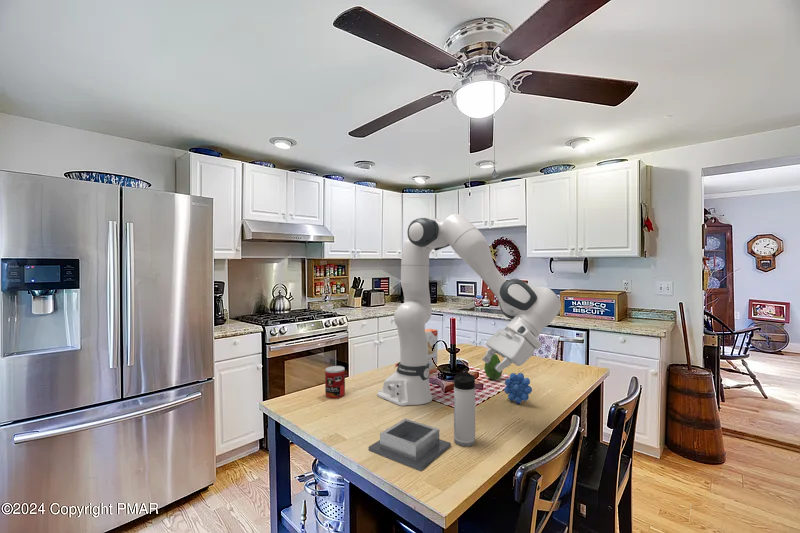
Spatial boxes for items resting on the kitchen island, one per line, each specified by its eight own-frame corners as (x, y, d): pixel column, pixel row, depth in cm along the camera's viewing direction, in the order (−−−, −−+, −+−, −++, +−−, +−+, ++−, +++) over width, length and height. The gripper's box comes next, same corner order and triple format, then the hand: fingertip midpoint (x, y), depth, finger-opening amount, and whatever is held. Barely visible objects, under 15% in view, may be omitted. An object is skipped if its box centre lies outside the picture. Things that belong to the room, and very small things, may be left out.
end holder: (368, 450, 106) (368, 433, 106) (401, 429, 119) (401, 414, 119) (420, 471, 95) (420, 451, 95) (450, 446, 108) (450, 429, 108)
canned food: (321, 397, 148) (321, 370, 148) (332, 391, 155) (332, 365, 155) (338, 400, 145) (337, 372, 145) (348, 393, 152) (348, 366, 152)
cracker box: (416, 377, 173) (416, 333, 172) (408, 374, 177) (408, 331, 177) (438, 372, 181) (438, 329, 181) (429, 369, 186) (429, 328, 186)
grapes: (537, 404, 139) (537, 373, 139) (528, 409, 135) (528, 376, 135) (510, 396, 148) (510, 366, 148) (500, 400, 144) (500, 369, 144)
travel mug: (477, 438, 113) (477, 373, 113) (472, 448, 107) (472, 379, 107) (457, 434, 115) (457, 371, 115) (451, 444, 109) (451, 377, 109)
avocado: (490, 375, 175) (490, 350, 175) (505, 379, 169) (505, 353, 169) (480, 379, 170) (480, 353, 170) (495, 383, 164) (495, 356, 164)
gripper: (499, 320, 123) (471, 350, 122) (530, 331, 103) (496, 368, 102) (512, 333, 124) (484, 363, 123) (544, 347, 104) (512, 383, 103)
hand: (490, 365), depth 112 cm, fingers open, 8 cm apart
